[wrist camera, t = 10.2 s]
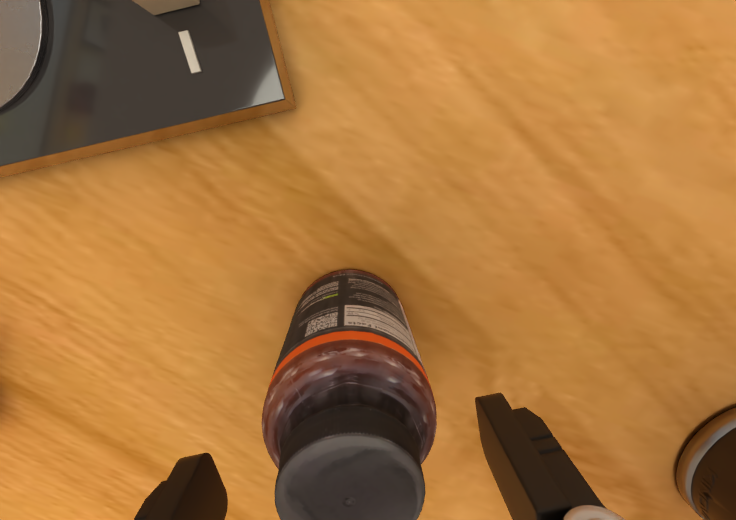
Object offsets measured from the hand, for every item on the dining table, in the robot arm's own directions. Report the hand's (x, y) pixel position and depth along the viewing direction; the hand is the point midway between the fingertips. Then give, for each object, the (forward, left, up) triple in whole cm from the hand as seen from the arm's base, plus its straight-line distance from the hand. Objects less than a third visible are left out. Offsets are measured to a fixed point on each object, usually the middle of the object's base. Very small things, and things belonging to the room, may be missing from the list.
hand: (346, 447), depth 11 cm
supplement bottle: (0, 0, -10) cm, 10 cm away
